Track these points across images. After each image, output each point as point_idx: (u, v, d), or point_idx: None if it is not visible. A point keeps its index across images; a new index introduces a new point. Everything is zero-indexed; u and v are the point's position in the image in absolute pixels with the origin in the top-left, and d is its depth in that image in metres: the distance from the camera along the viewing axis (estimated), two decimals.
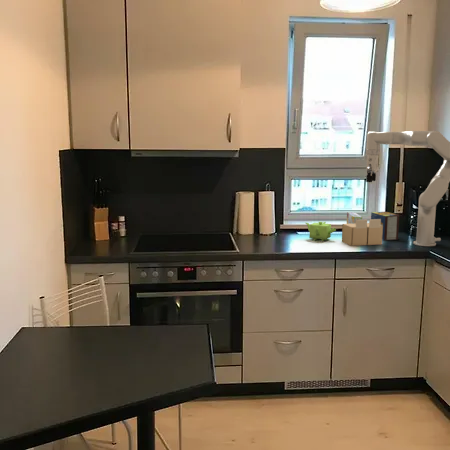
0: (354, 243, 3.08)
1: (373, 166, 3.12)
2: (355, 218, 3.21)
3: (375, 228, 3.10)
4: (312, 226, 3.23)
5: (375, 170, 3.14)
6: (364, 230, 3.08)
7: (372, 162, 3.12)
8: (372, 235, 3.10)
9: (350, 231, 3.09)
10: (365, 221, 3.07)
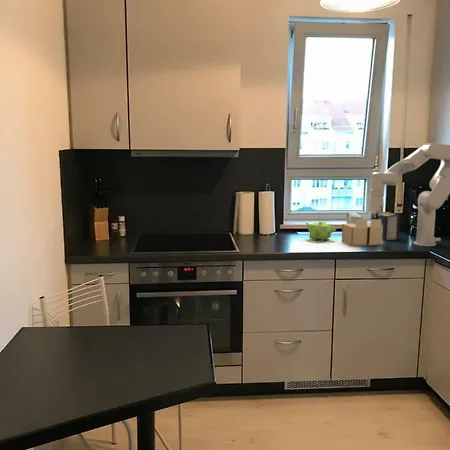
0: (354, 243, 3.08)
1: None
2: (355, 218, 3.21)
3: (376, 229, 3.09)
4: (312, 226, 3.23)
5: (370, 210, 3.12)
6: (364, 230, 3.08)
7: None
8: (373, 235, 3.09)
9: (350, 231, 3.09)
10: (365, 221, 3.07)
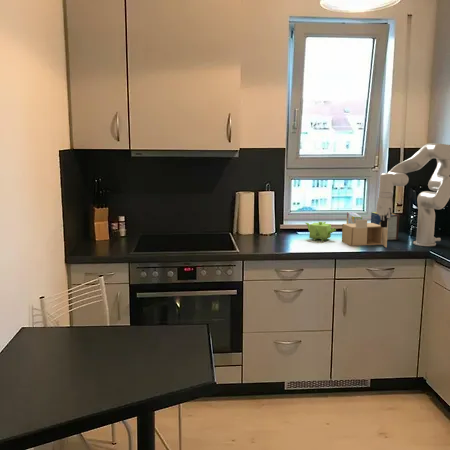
0: (354, 243, 3.08)
1: None
2: (355, 218, 3.21)
3: None
4: (312, 226, 3.23)
5: (378, 212, 3.02)
6: (364, 230, 3.08)
7: None
8: None
9: (350, 231, 3.09)
10: (365, 221, 3.07)
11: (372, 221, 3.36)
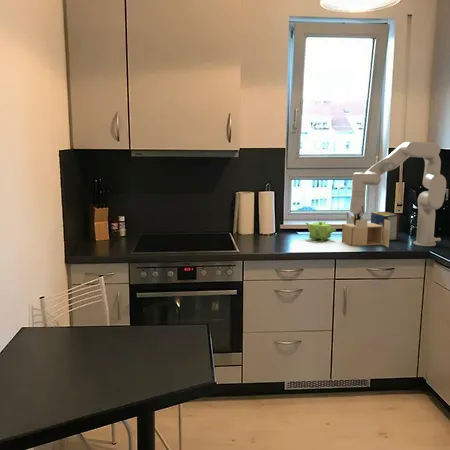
0: (354, 243, 3.08)
1: None
2: None
3: None
4: (312, 226, 3.23)
5: (351, 211, 3.10)
6: (364, 230, 3.08)
7: None
8: None
9: (350, 231, 3.09)
10: (365, 221, 3.07)
11: (372, 221, 3.36)
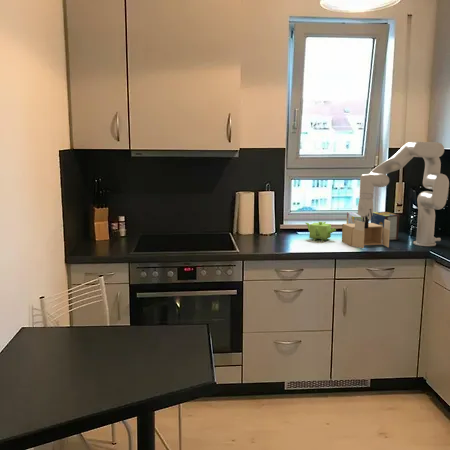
0: (353, 244, 3.07)
1: None
2: (355, 218, 3.21)
3: None
4: (312, 226, 3.23)
5: (359, 213, 3.01)
6: (361, 233, 3.00)
7: None
8: None
9: (350, 231, 3.09)
10: (361, 223, 2.99)
11: (372, 221, 3.36)
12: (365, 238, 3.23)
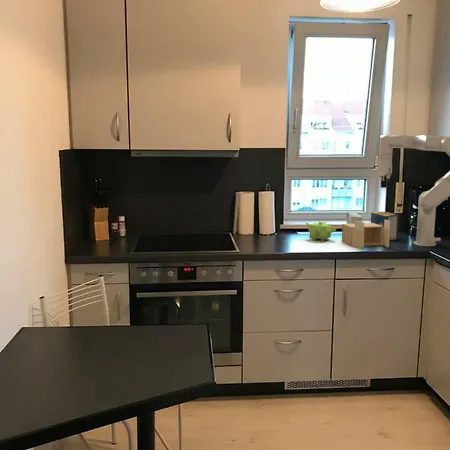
0: (353, 244, 3.07)
1: None
2: (355, 218, 3.21)
3: None
4: (312, 226, 3.23)
5: (378, 173, 3.15)
6: (361, 233, 3.00)
7: None
8: None
9: (350, 231, 3.09)
10: (361, 223, 2.99)
11: (372, 221, 3.36)
12: (365, 238, 3.23)
